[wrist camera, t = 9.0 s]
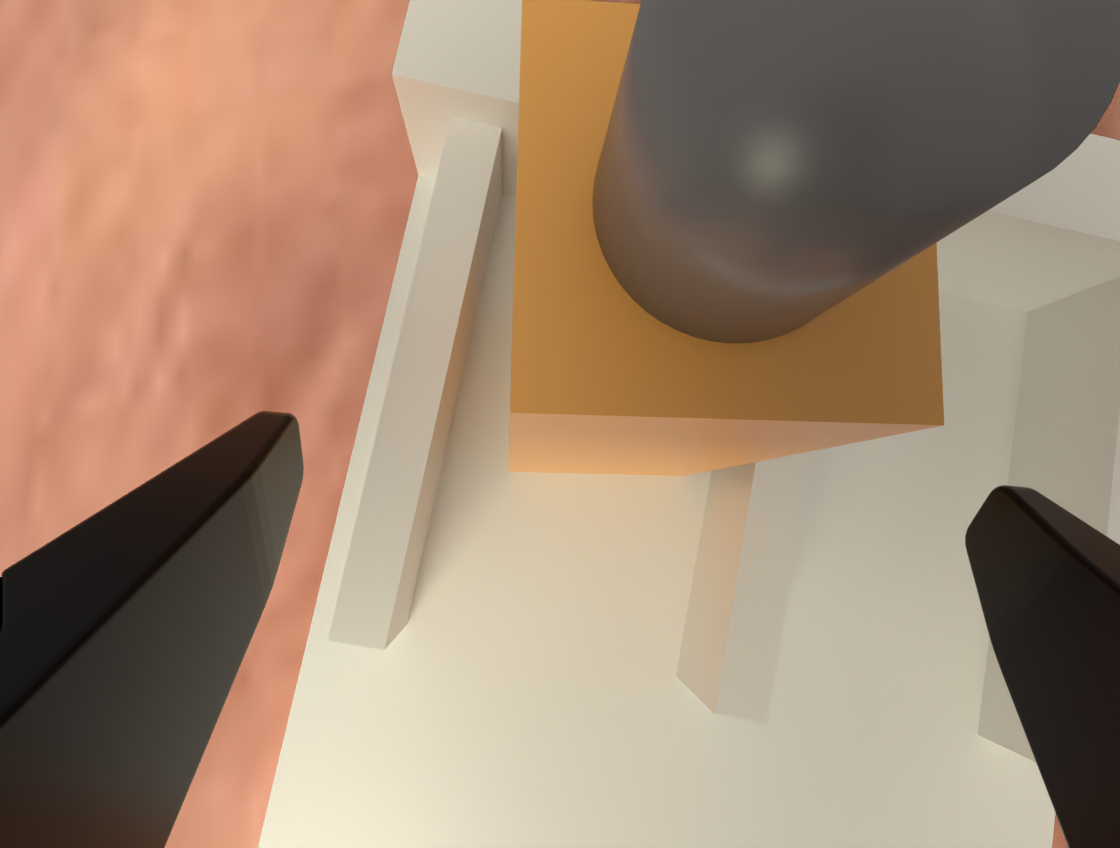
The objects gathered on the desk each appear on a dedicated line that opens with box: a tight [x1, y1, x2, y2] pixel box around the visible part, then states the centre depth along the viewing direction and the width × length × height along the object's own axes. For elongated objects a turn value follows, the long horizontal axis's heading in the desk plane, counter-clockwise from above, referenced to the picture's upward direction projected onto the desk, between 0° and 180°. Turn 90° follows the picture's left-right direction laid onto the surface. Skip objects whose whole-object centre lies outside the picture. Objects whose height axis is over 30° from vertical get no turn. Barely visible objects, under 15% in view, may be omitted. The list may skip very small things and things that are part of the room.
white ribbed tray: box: [258, 0, 1120, 848], centre depth 15 cm, size 18×17×5 cm
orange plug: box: [508, 0, 1120, 476], centre depth 10 cm, size 4×4×13 cm
